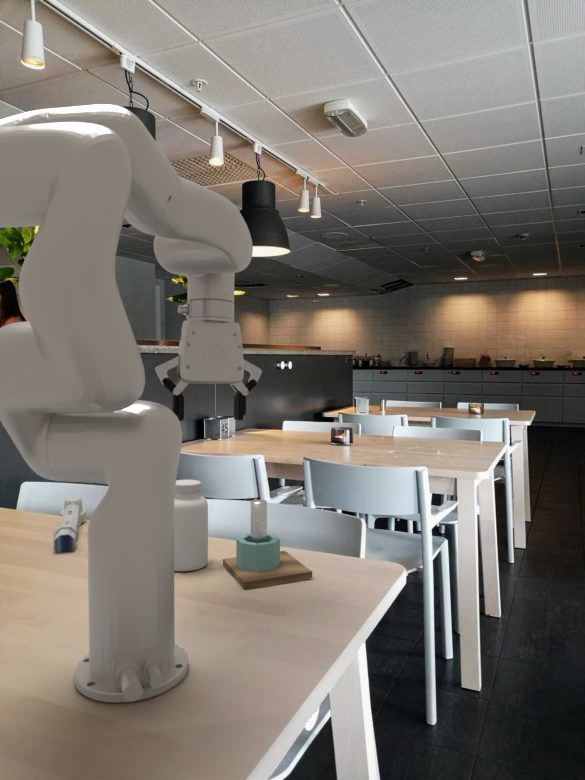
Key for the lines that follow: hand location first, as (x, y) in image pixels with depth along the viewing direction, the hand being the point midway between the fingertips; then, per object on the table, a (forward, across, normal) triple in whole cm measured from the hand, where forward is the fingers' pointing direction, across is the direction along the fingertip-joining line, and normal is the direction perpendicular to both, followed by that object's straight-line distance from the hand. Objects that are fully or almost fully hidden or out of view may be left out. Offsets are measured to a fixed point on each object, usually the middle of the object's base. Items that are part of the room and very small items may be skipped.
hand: (209, 420), depth 93 cm
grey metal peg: (+25, +10, +4) cm, 28 cm away
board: (+27, +11, +3) cm, 29 cm away
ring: (+25, +10, +4) cm, 28 cm away
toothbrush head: (+26, -21, +39) cm, 51 cm away
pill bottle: (+27, -1, +12) cm, 29 cm away
